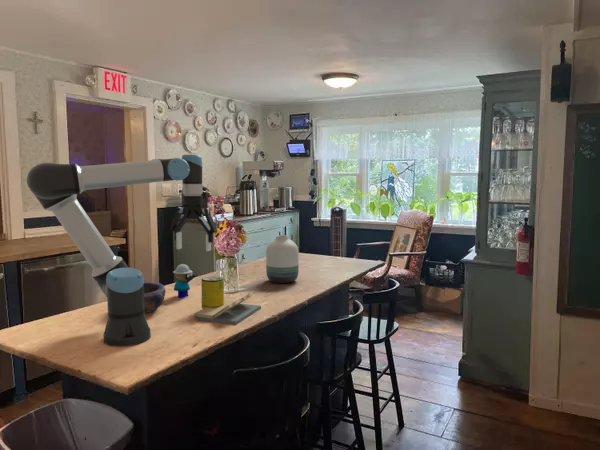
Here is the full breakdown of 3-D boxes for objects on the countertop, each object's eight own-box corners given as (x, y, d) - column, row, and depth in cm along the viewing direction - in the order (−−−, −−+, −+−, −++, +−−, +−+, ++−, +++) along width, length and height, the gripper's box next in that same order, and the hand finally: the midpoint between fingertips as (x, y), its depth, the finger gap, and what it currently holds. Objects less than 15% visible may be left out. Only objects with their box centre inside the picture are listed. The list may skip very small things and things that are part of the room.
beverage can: (221, 303, 197) (221, 275, 196) (226, 308, 188) (226, 279, 187) (199, 305, 193) (199, 277, 192) (204, 310, 185) (203, 281, 184)
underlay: (236, 324, 173) (236, 318, 173) (194, 319, 179) (194, 313, 179) (260, 308, 193) (260, 302, 193) (222, 304, 199) (222, 298, 199)
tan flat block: (230, 307, 173) (228, 305, 173) (214, 317, 176) (213, 315, 176) (242, 300, 182) (240, 298, 182) (227, 310, 185) (226, 308, 185)
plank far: (244, 299, 184) (243, 297, 184) (230, 309, 187) (228, 306, 187) (255, 293, 194) (253, 291, 194) (241, 302, 196) (239, 300, 196)
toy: (188, 299, 207) (187, 266, 206) (170, 298, 209) (169, 265, 207) (196, 294, 216) (195, 262, 214) (178, 293, 217) (178, 262, 216)
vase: (262, 284, 236) (261, 237, 234) (271, 276, 253) (271, 233, 250) (294, 286, 232) (294, 238, 230) (301, 278, 249) (302, 234, 246)
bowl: (117, 318, 179) (116, 293, 178) (122, 306, 197) (121, 283, 195) (165, 315, 184) (165, 290, 183) (166, 303, 201) (165, 280, 200)
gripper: (225, 195, 178) (226, 250, 180) (171, 194, 186) (172, 246, 188) (216, 196, 171) (217, 253, 173) (159, 194, 179) (161, 249, 181)
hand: (193, 249), depth 181 cm, fingers open, 12 cm apart
